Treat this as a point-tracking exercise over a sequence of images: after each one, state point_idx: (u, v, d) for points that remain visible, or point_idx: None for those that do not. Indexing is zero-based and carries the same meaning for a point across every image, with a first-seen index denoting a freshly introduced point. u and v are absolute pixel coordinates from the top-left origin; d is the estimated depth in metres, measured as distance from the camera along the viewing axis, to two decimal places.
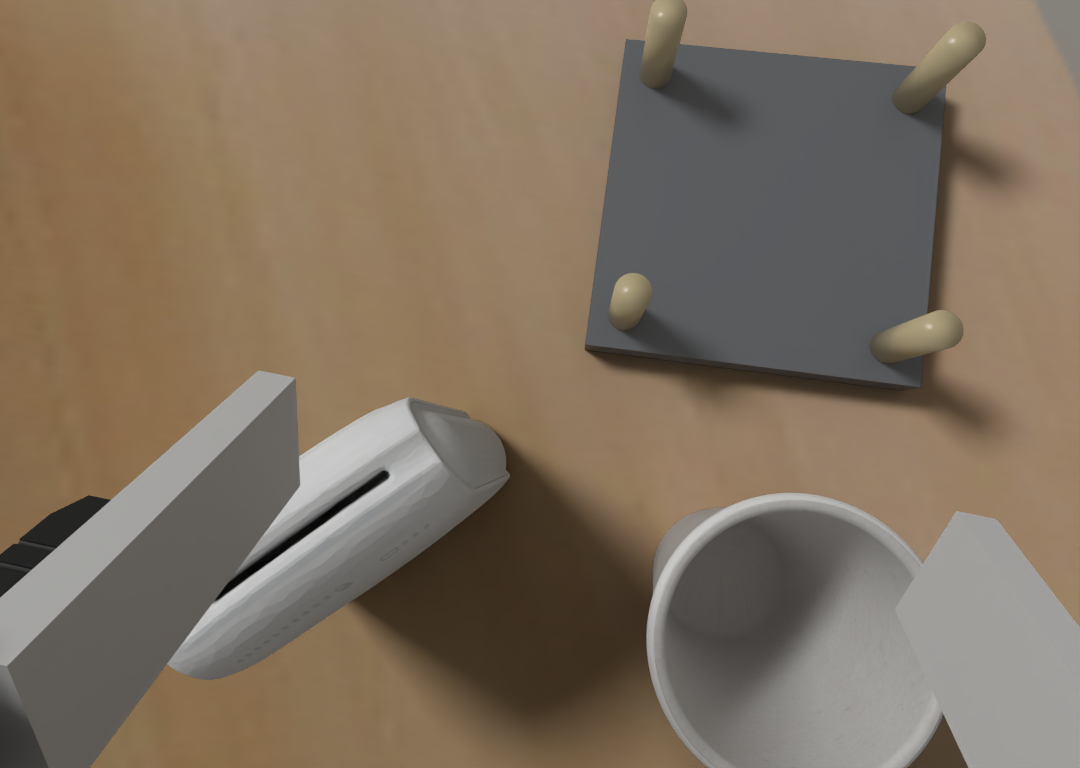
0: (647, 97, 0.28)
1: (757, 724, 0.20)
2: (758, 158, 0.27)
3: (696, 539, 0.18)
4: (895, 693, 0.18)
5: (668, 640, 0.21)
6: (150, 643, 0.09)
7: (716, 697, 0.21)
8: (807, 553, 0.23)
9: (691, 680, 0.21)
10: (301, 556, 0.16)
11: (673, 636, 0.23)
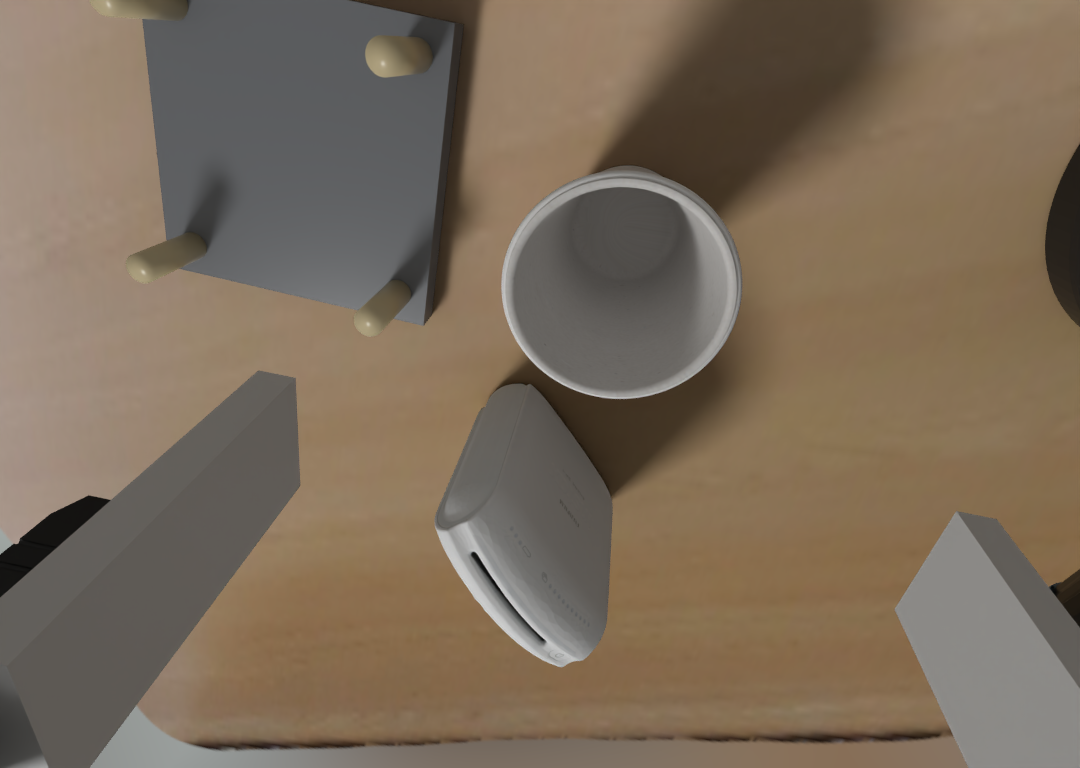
0: (215, 254, 0.33)
1: (704, 288, 0.24)
2: (253, 163, 0.30)
3: (533, 358, 0.23)
4: None
5: (637, 334, 0.27)
6: (150, 643, 0.09)
7: (686, 303, 0.26)
8: None
9: (669, 323, 0.26)
10: (518, 604, 0.26)
11: (649, 307, 0.28)
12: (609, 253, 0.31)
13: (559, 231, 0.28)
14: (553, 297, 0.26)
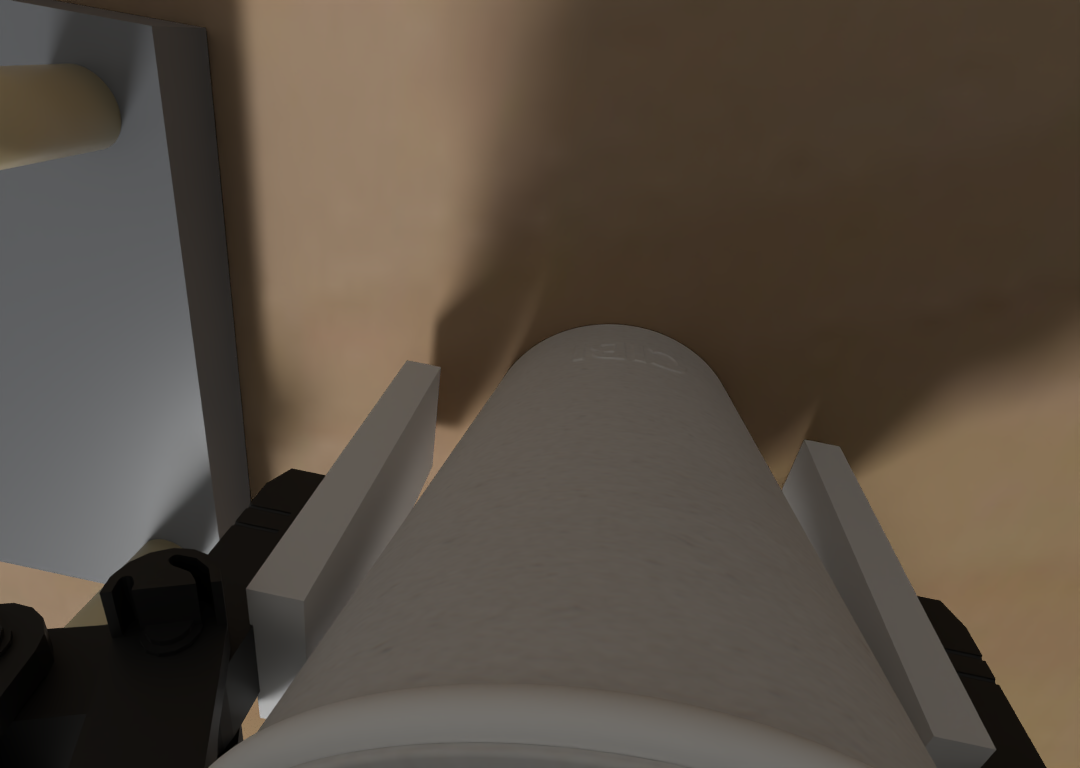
0: None
1: None
2: None
3: None
4: None
5: None
6: None
7: None
8: None
9: None
10: None
11: None
12: None
13: None
14: None
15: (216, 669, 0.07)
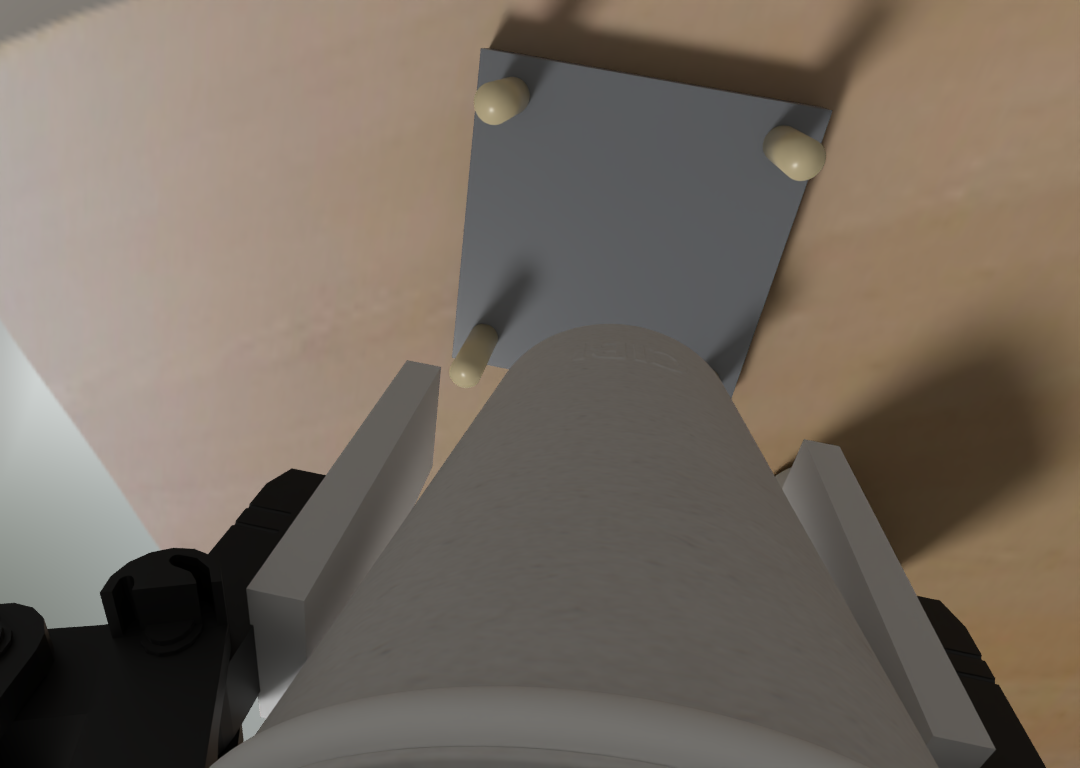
0: (505, 345, 0.31)
1: None
2: (568, 254, 0.28)
3: None
4: None
5: None
6: None
7: None
8: None
9: None
10: None
11: None
12: None
13: None
14: None
15: (216, 669, 0.07)
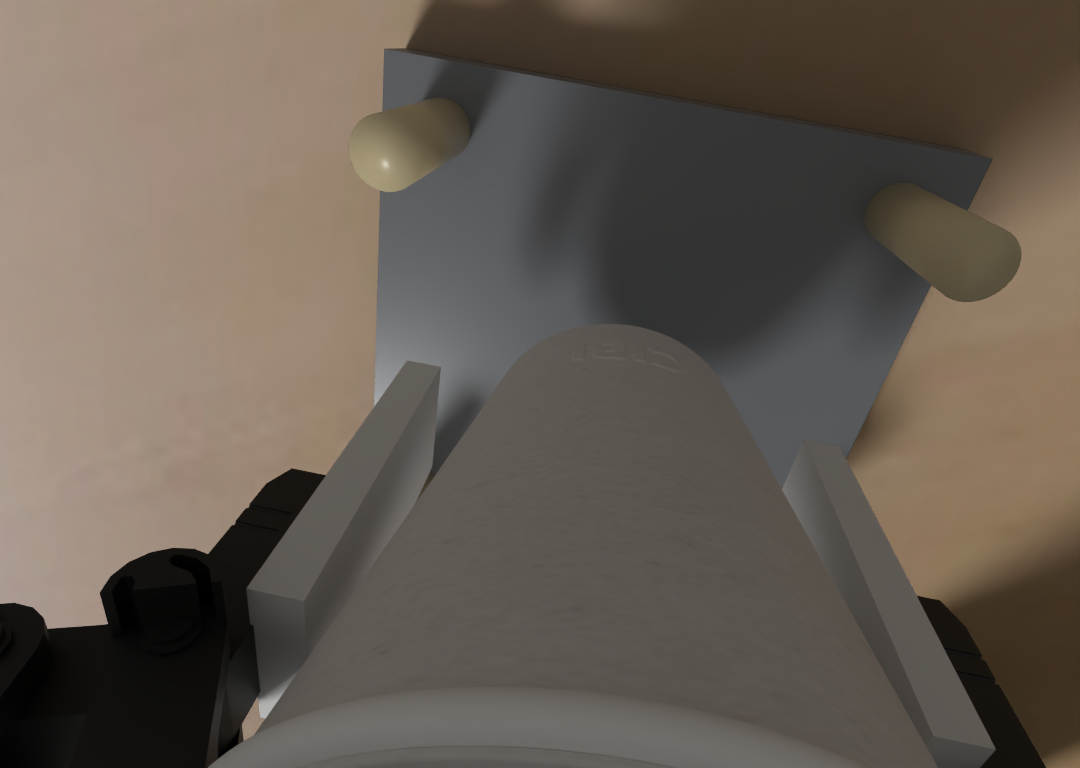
0: None
1: None
2: None
3: None
4: None
5: None
6: None
7: None
8: None
9: None
10: None
11: None
12: None
13: None
14: None
15: (216, 669, 0.07)
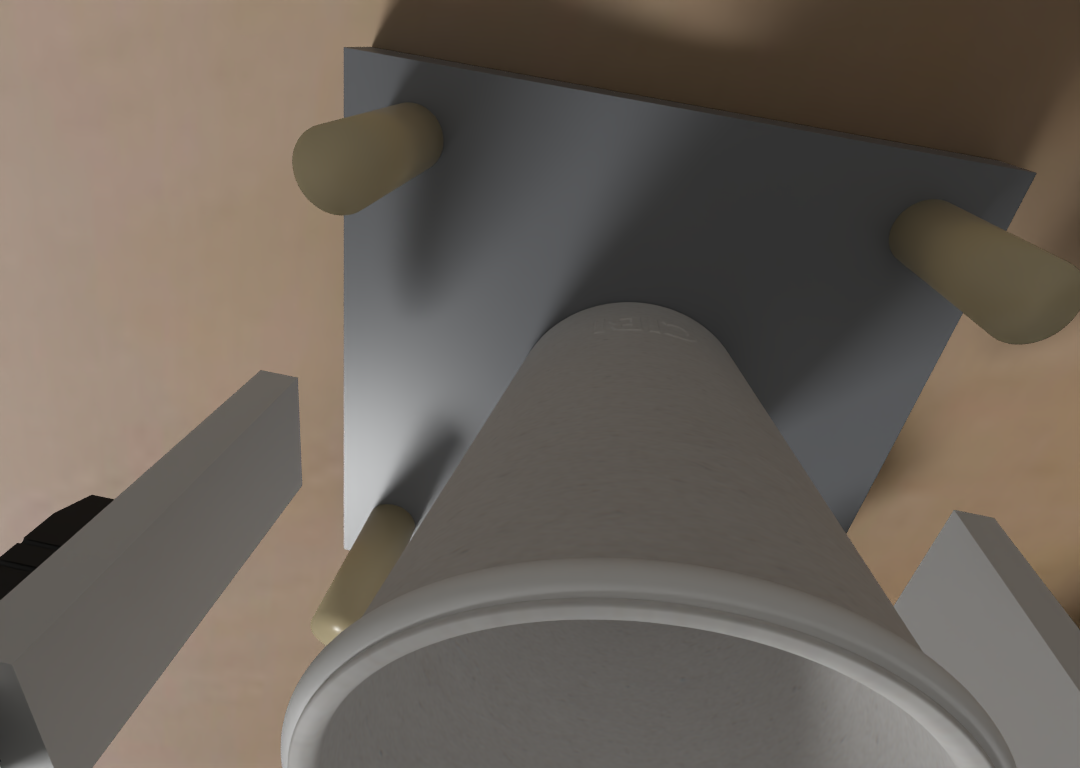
0: None
1: (838, 672, 0.10)
2: None
3: None
4: None
5: (669, 707, 0.12)
6: (153, 641, 0.09)
7: (782, 661, 0.11)
8: None
9: (742, 699, 0.11)
10: None
11: None
12: None
13: None
14: (478, 639, 0.12)
15: None
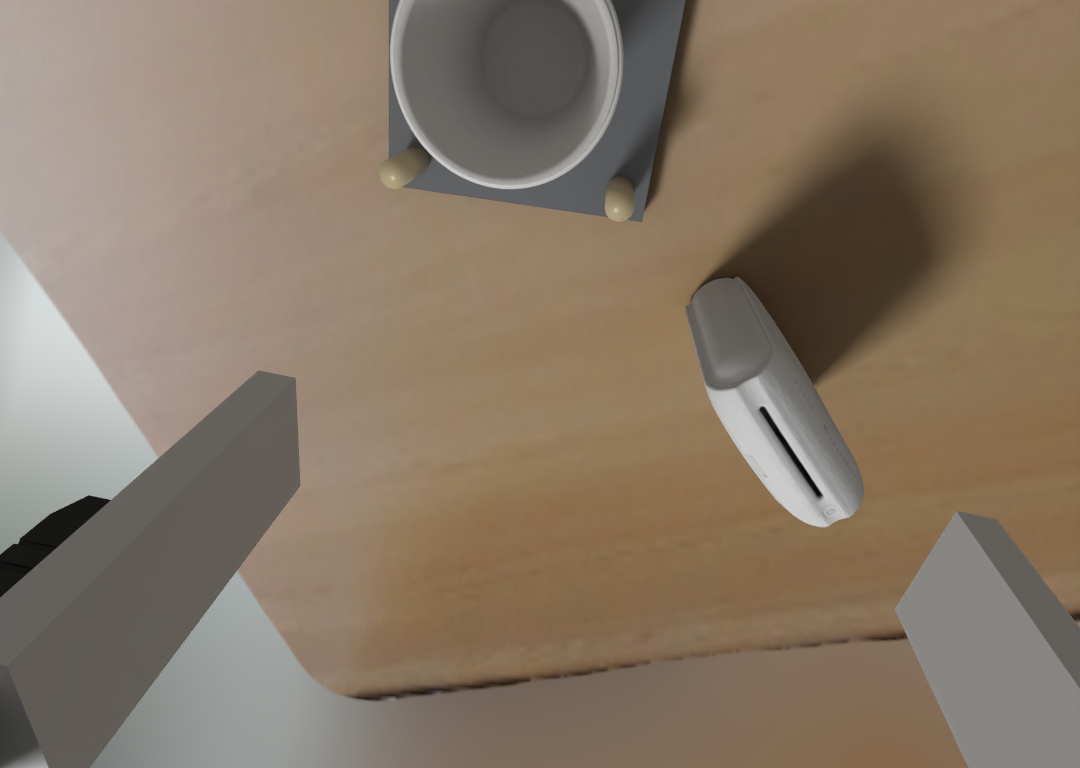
0: (436, 167, 0.34)
1: (600, 73, 0.25)
2: None
3: (434, 153, 0.24)
4: None
5: (547, 143, 0.27)
6: (151, 642, 0.09)
7: (589, 101, 0.26)
8: None
9: (575, 124, 0.26)
10: (806, 455, 0.27)
11: (561, 124, 0.28)
12: (524, 91, 0.31)
13: (464, 57, 0.28)
14: (460, 114, 0.27)
15: None
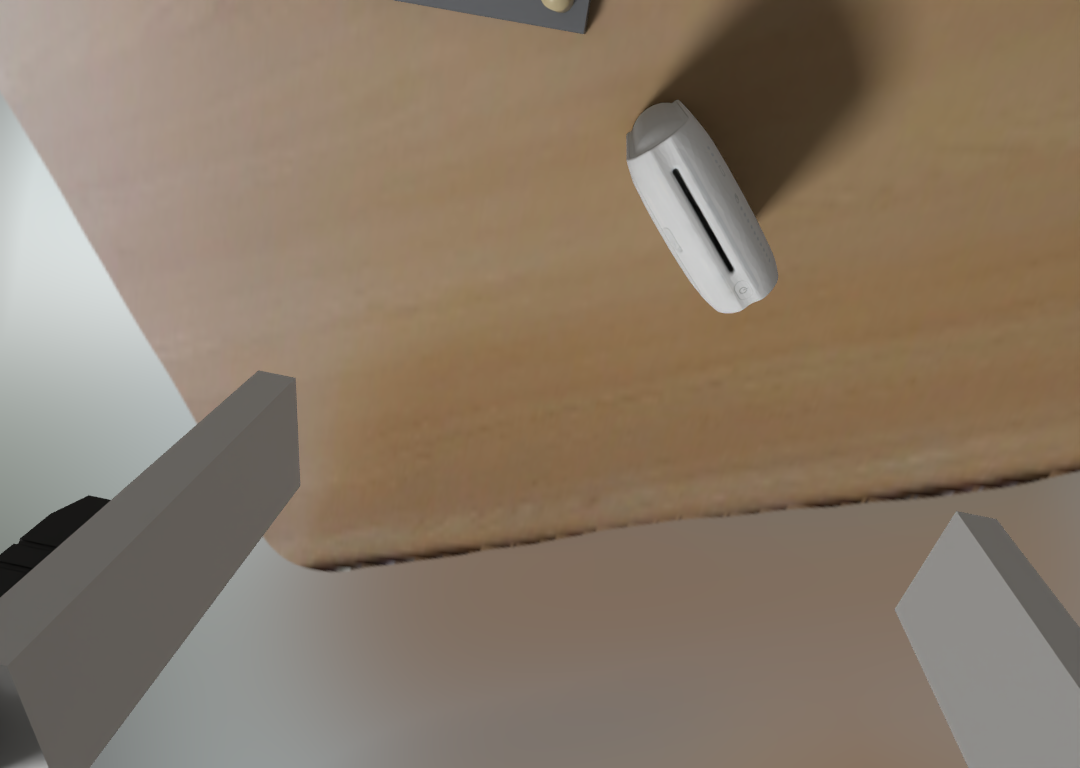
0: None
1: None
2: None
3: None
4: None
5: None
6: (150, 643, 0.09)
7: None
8: None
9: None
10: (716, 219, 0.29)
11: None
12: None
13: None
14: None
15: None
